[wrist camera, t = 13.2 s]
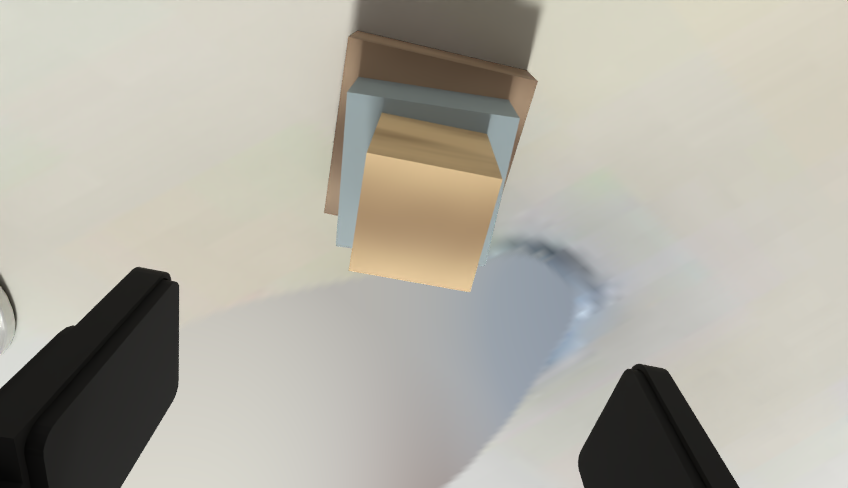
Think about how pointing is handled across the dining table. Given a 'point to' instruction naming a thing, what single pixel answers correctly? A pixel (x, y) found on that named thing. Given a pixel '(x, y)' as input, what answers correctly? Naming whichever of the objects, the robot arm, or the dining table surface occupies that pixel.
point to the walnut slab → (423, 84)
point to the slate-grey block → (423, 105)
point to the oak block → (425, 203)
